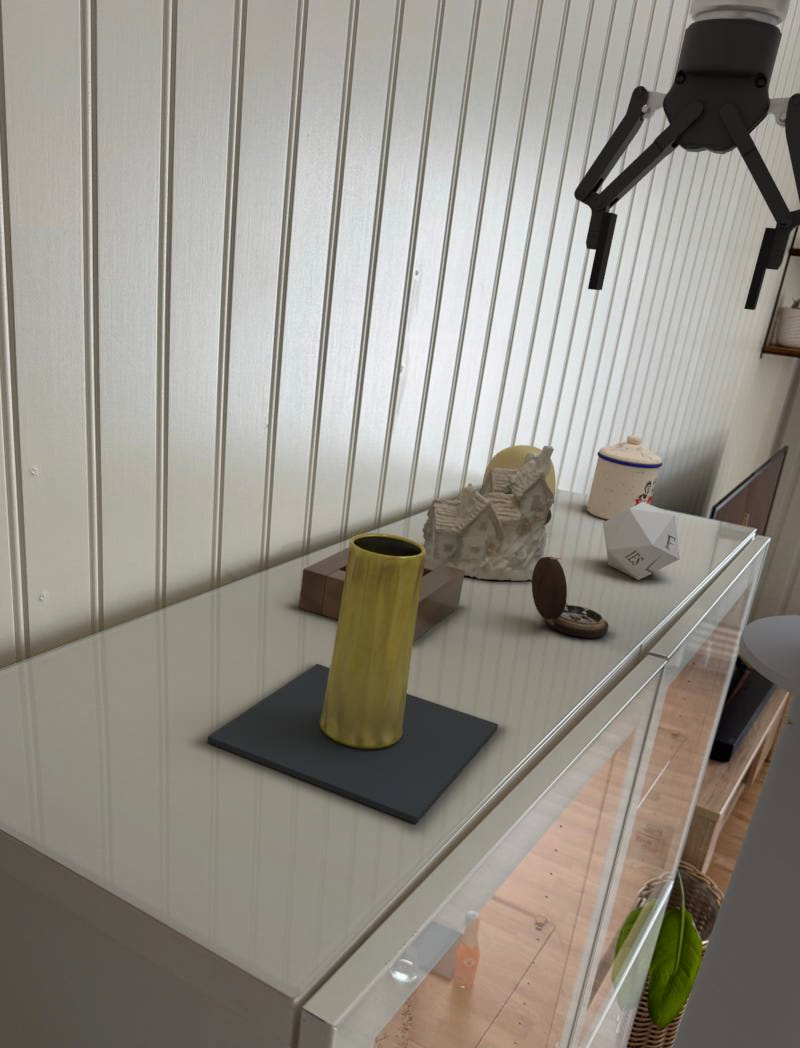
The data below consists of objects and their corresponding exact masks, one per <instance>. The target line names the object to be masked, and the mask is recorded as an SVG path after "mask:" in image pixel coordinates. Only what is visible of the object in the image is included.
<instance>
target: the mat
mask: <svg viewBox="0 0 800 1048" xmlns="http://www.w3.org/2000/svg"><path fill="white" fill-rule="evenodd" d="M329 670H330V667H328V666H325V665H322V664H319V663H316V664H314V665H313V666H312V667H310V668H308V669H306V670H305V671H304V672H303V673H301V674H299V675H298V676H297V677H295V678H293V679H291V680H290V681H289V682H287V683H285V684H284V685H283V686H281V687H280V688H278V689H277V690H275V691H274V692H272V693H270V694H269V695H267V696H266V697H265V698H263V699H262V700H260V701H259V702H257V703H256V704H254V705H253V706H251V707H250V708H249V709H247V710H246V711H244V712H242V713H241V714H239V715H238V716H237V717H235V718H233V719H232V720H230V721H229V722H228V723H226V724H224V725H222V726H221V727H219V728H218V729H217V730H215V731H213V732H212V733H210V734H209V735H208V736H207V740H206V741H207V742H206V743H208V744H211V745H213V746H216V747H218V748H221V749H223V750H226V751H229V752H231V753H234V754H236V755H239V756H242V757H244V758H246V759H249V760H252V761H254V762H257V763H259V764H261V765H265V766H267V767H269V768H272V769H275V770H277V771H279V772H282V773H285V774H287V775H290V776H292V777H294V778H297V779H300V780H302V781H305V782H308V783H310V784H312V785H315V786H318V787H321V788H322V789H325V790H328V791H330V792H334V793H336V794H338V795H341V796H343V797H346V798H348V799H351V800H353V801H356V802H358V803H361V804H364V805H366V806H368V807H371V808H374V809H377V810H378V811H381V812H384V813H387V814H390V815H392V816H394V817H396V818H400V819H402V820H405V821H407V822H409V823H412V824H415V825H416V824H417V823H418V822H419V821H420V820H421V819H422V817H423V816H424V815H425V814H426V813H427V812H428V811H429V809H430V808H431V807H432V806H433V805H434V804H435V802H436V801H437V800H438V799H439V798H440V797H441V796H442V795H443V793H444V792H445V791H446V789H447V788H448V787H449V786H450V785H451V784H452V783H453V782H454V780H455V779H456V778H457V777H458V776H459V775H460V773H461V772H462V771H463V770H464V768H465V767H466V766H467V765H468V764H469V763H470V762H471V761H472V759H474V757H475V756H476V755H477V753H479V751H480V750H481V749H482V748H483V747H484V745H485V744H486V743H487V742H488V741H489V740H490V738H492V736H493V735H494V734H495V733H496V731H497V730H498V728H499V724H498V723H496V722H493V721H490V720H487V719H483V718H481V717H478V716H475V715H472V714H469V713H466V712H463V711H460V710H456V709H454V708H451V707H448V706H445V705H442V704H440V703H435V702H433V701H430V700H427V699H424V698H421V697H419V696H416V695H412V694H409V693H407V694H406V702H405V710H404V717H403V734H402V736H401V738H400V739H399V740H398V741H397V742H396V743H395V744H393V745H391V746H388V747H385V748H381V749H358V748H354V747H349V746H346V745H343V744H340V743H338V742H336V741H334V740H332V739H331V738H329V737H328V736H327V735H325V734H324V732H323V731H322V729H321V727H320V723H319V720H320V717H321V714H322V710H323V705H324V699H325V694H326V688H327V682H328V676H329Z"/></svg>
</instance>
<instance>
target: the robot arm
mask: <svg viewBox="0 0 800 1048" xmlns="http://www.w3.org/2000/svg"><path fill="white" fill-rule="evenodd" d="M791 1H792V0H691V2H690V6H689V7H690V8H689V11H688V15H689V17H690V18H691V20H692V21H694V22H692V23H690V24H689V25H688V27H687V28H686V29H685V30H684V35H683V39H682V44H681V49H680V51H679V52H680V53H679V58H678V62H677V67H676V70H675V76H674V79H673V83H672V85H671V87H670V88H669V90H668V92H667V93H666V92H665V93H664V92H659V91H653V90H648V89H647V88H646V87H645V86H643V85H638V86H636V87H635V88H633V91H632V92H631V96H630V100H629V102H628V105H627V108H626V113H625V115H624V117H622V119H621V120H620V123H619V124H618V125H617V127H616V128H615V129H614V131H613V133H612V134H611V135H610V137H609V138H608V140H607V142H606V143H605V145H604V146H603V148H602V149H601V151H600V153H598V155H597V157H596V158H595V160H594V161H593V163H592V164H591V165H590V167H589V169H588V170H587V172H586V173H585V174H584V176H583V177H582V179H581V181H580V182H579V184H578V185H577V186H576V188H575V190H574V192H573V193H574V194H573V196H574V198H575V200H577V201H579V202H580V203H583V204H585V205H586V206H588V207H589V208H590V212H591V215H590V218H589V223H588V224H589V226H588V229H587V235H586V240H585V246H586V250H594V256H593V261H592V266H591V271H590V276H589V280H588V286H587V290H594V291H603V286H604V282H605V278H606V273H607V267H608V263H609V258H610V252H611V248H612V243H613V239H614V234H615V229H616V226H617V225H616V224H617V221H618V214H617V213H614V212H611V209H612V208H613V207H614V206H616V204H617V203H618V202H619V201H620V200H621V199H623V198H624V196H626V195H627V194H628V193H630V191H631V190H632V189H633V188H634V187H635V186H637V185H638V183H639V182H641V181H642V180H643V179H644V178H645V177H646V176H647V175H648V174H649V173H650V172H651V171H653V169H654V168H655V167H657V166H658V165H659V164H660V163H661V162H662V161H663V160H664V159H665V158H666V157H668V156H669V155H671V154H672V153H673V152H674V151H675V150H676V149H677V148H678V147H681V148H682V149H683V150H685V151H686V152H688V153H700V152H705V151H708V152H710V153H713V154H717V155H726V154H727V153H730V152H732V151H734V150H735V149H736V148H737V150H738V153H739V154H740V156H741V158H742V160H743V161H744V164H745V165H746V168H747V169H748V172H749V173H750V175H751V177H752V179H753V180H754V183H755V184H756V187H757V189H758V190H759V192H760V194H761V196H762V197H763V200H764V202H765V204H766V206H767V208H768V209H769V212H770V214H771V215H772V217H773V219H774V221H775V227H774V228H773V227H765V228H764V233H763V236H762V240H761V244H760V247H759V251H758V254H757V259H756V262H755V265H754V270H753V274H752V278H751V281H750V285H749V289H748V293H747V296H746V300H745V304H744V307H743V309H744V310H749V311H750V310H751V311H755V310H756V308H757V306H758V301H759V298H760V294H761V291H762V286H763V283H764V279H765V275H766V272H767V270H773V271H778V270H779V269H780V268H781V266H782V264H783V262H784V258H785V254H786V251H787V247H788V244H789V240H790V238H791V237H790V236H791V233H792V231H793V230H795V229H796V228H799V227H800V209H796V210H791V211H790V209H789V207H788V205H787V203H786V201H785V199H784V197H783V195H782V193H781V191H780V190H779V187H778V186H777V184H776V182H775V180H774V178H773V176H772V174H771V172H770V171H769V168H768V166H767V165H766V163H765V161H764V159H763V157H762V155H761V153H760V152H759V150H758V148H757V145H756V144H755V142H754V140H753V138H752V136H751V133H752V132H753V131H754V130H755V129H756V128H758V126H759V125H760V124H761V123H762V122H763V121H764V120H765V119H766V118H767V116H768V115H772V116H774V118H775V123H776V125H777V126H778V127H779V128H784V131H785V132H784V134H785V139H786V144H787V149H788V154H789V158H790V163H791V167H792V168H791V169H792V172H793V177H794V182H795V189H796V192H797V197H798V201H799V202H798V203H800V92H796V93H794V94H792V95H791V96H789V97H778V98H777V97H776V98H770V93H769V91H770V84H771V80H772V76H773V72H774V68H775V65H776V60H777V57H778V52H779V50H780V49H779V48H780V44H781V41H782V38H783V33H782V32H781V29H780V28H779V27H778V25H781V24H782V23H784V21H786V20H787V18H788V13H789V8H790V6H791ZM660 109H663V112H664V114H665V117H666V119H667V121H668V124H669V125H667V126H666V128H665V129H664V130H663V131H662V132H660V134H659V135H657V136H656V137H655V139H654V140H653V141H652V143H650V145H648V147H646V149H644V151H642V152H641V153H640V154H639V155H638V156H637V157H636V158H635V159H633V160H632V162H631V163H630V164H629V165H628V166H626V167H625V168H624V169H623V171H621V172H620V173H619V174H618V175H617V176H616V177H615V178H614V179H613V180H612V181H611V182H610V183H609V184H608V185H607V186H605V188H604V189H602V191H600V192H598V191H599V190H600V188H601V186H603V184H604V183H605V181H606V179H607V178H608V177H609V175H610V174H611V172H612V170H613V169H614V168H615V166H616V165H617V163H618V162H619V160H620V159H621V158H622V156H623V155H624V153H625V151H626V150H627V148H629V146H630V144H631V142H632V141H633V139H634V138H635V137H636V135H638V132H639V131H640V129H641V128H642V126H643V123H644V121H645V120H650V119H651V118H653V117H654V115H655V113H656V112H657V111H658V110H660Z"/></svg>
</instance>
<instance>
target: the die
mask: <svg viewBox="0 0 800 1048" xmlns="http://www.w3.org/2000/svg"><path fill="white" fill-rule="evenodd" d="M602 526H603V535H604V540H605V541H604V542H605V549H606V557H607V564H608V566H609V567H611V568H614V569H615V570H618V571H619V572H621V573H623V574H625V575H627V576H629V577H631V578H633V579H635V580H637V581H640V580H642V579H644V578H646V577H648V576H649V575H652V574H654V573H655V572H657V571H659V570H662V569H663V568H665V567H667V566H669V565H671V564H673V563H675V562H677V561H679V560H680V559H681V557H680V549H679V538H678V530H677V523H676V515H675V513H672V512H669V511H666V510H665V509H662V508H660V507H657V506H654V505H652V504H651V503H650V504H647V503H645V502H642V503H640V504H638V505H636V506H634V507H632V508H630V509H628V510H626V511H624V512H622V513H621V514H619V515H617V516H615V517H613V518H611V519H609V520H606V521H603V522H602Z"/></svg>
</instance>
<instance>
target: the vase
mask: <svg viewBox="0 0 800 1048" xmlns="http://www.w3.org/2000/svg"><path fill="white" fill-rule="evenodd" d="M348 542H349V543H348V547H349V551H348V558H347V566H346V573H345V580H344V587H343V594H342V600H341V607H340V613H339V619H338V620H337V626H336V632H335V638H334V645H333V651H332V656H331V662H330V665H329V668H330V670H329V676H328V682H327V688H326V694H325V699H324V705H323V710H322V714H321V717H320V720H319V723H320V727H321V729H322V731H323V732H324V734H325V735H327V736H328V737H329V738H331V739H332V740H334V741H336V742H338V743H340V744H343V745H346V746H349V747H354V748H358V749H381V748H385V747H388V746H391V745H393V744H395V743H396V742H397V741H398V740H399V739H400V738H401V736H402V734H403V717H404V710H405V702H406V694H408V685H409V677H410V668H411V660H412V652H413V643H414V641H413V637H414V630H415V623H416V616H417V609H418V604H419V597H420V590H421V584H422V577H423V571H424V566H425V560H426V550H425V548H424V547H423V546H422V544H421V543H419V542H417V541H416V540H414V539H410V538H408V537H404V536H401V535H397V534H396V535H395V534H390V533H382V532H366V533H365V532H364V533H360V534H356V535H354V536H352V537H350V539H349V541H348Z"/></svg>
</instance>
